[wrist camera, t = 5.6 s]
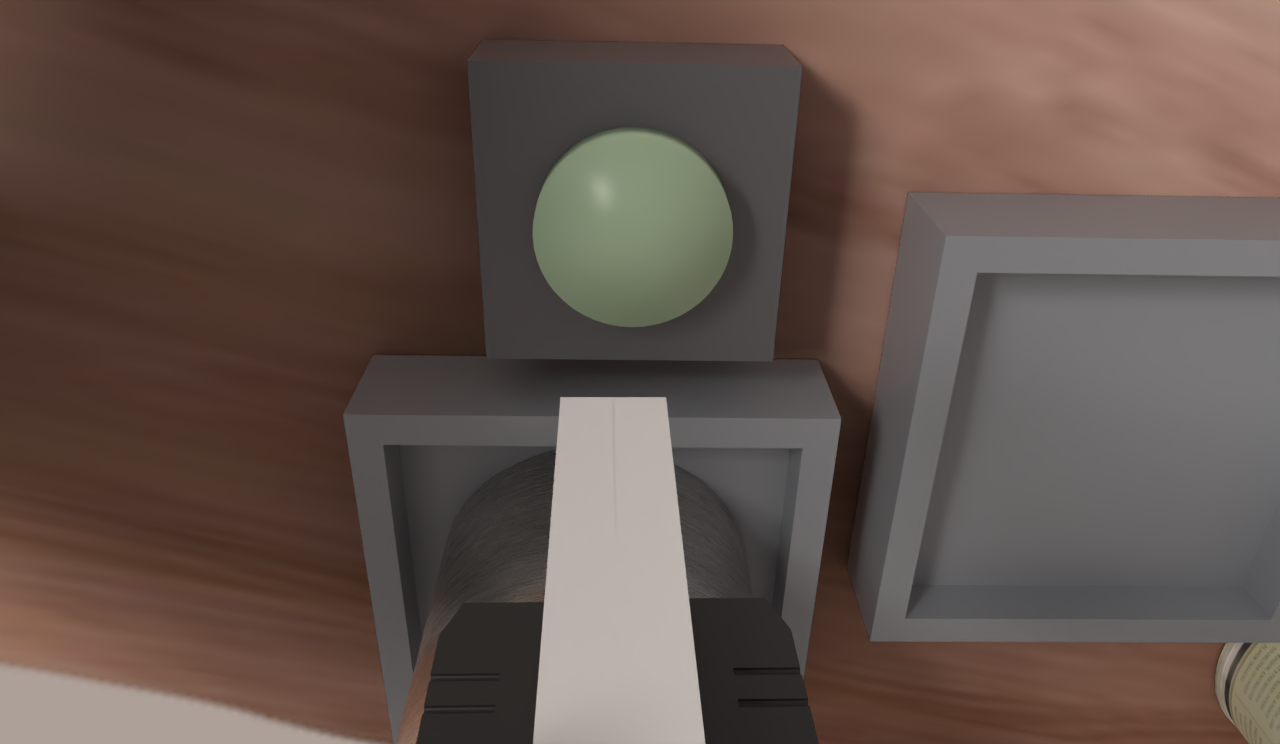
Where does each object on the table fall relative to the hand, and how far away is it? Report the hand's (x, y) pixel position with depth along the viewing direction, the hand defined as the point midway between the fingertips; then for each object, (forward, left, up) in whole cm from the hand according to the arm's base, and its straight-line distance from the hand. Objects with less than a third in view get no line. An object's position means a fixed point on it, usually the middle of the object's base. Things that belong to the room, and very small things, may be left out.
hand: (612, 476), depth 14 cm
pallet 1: (+13, -1, -15) cm, 19 cm away
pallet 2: (+7, +15, -15) cm, 23 cm away
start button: (0, 0, -15) cm, 15 cm away
